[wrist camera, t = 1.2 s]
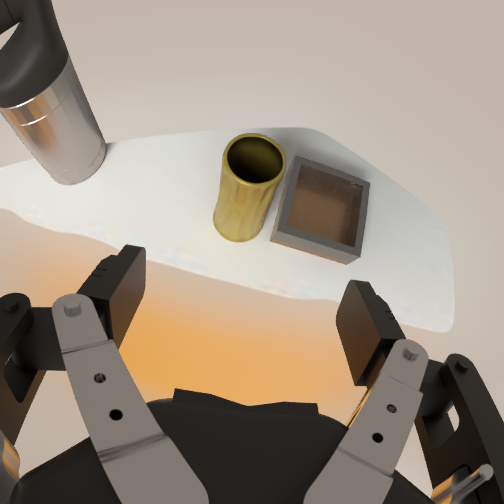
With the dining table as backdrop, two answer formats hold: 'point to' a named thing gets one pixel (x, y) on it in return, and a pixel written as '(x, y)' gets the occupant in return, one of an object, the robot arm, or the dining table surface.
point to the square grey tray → (322, 212)
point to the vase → (247, 185)
